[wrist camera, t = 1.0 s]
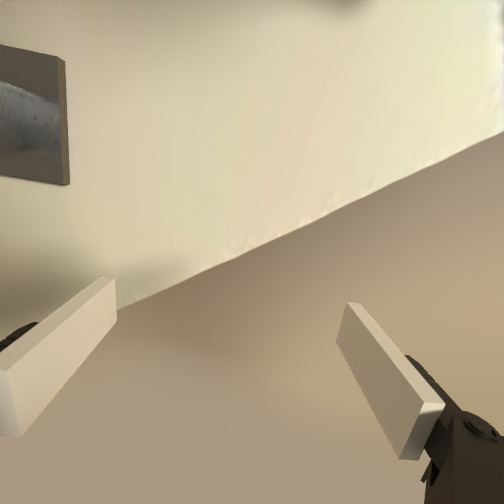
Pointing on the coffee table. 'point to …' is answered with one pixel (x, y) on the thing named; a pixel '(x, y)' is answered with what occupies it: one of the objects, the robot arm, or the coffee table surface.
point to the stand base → (33, 116)
